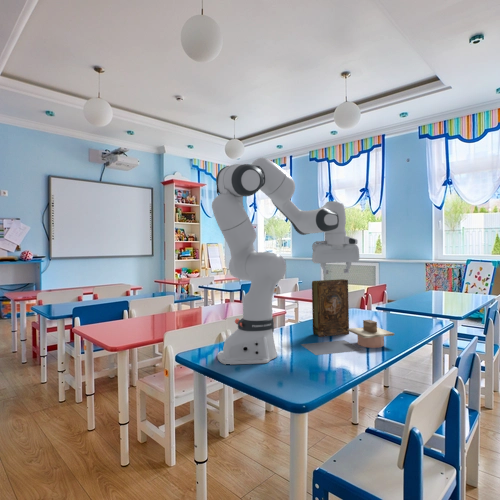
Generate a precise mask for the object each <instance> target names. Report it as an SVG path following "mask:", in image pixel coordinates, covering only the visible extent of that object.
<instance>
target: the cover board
mask: <svg viewBox="0 0 500 500" xmlns="http://www.w3.org/2000/svg"><path fill="white" fill-rule="evenodd" d="M362 321H363V322H362V326H363V327H349V329H348V331H349V333H352V334H353V335H356V336H358V335H359V336H361V337H363V338H372V337H383V336H384V337H390V336H391V337H392V336H395V332H391V331H390V330H386V329H383V328H380V327H378V323H377V321H374V320H373V319H372V320H371V319H363V320H362Z"/></svg>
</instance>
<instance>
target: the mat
mask: <svg viewBox="0 0 500 500" xmlns="http://www.w3.org/2000/svg"><path fill="white" fill-rule="evenodd" d="M300 346H301V347H303V348H305V349H306V350H308V351H310V352H311V353H312V354H313V355H315V356H320V355H329V354H330V355H332V354H338V353H339V354H341V353H350V352H351V353H352V352H360V351H364V349H363V348H361V347H360V346H357V345H355V344H353V343H351V342H349V341H347V340H333V341H323V342H312V343H303V344H301V343H300Z"/></svg>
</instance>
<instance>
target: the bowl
mask: <svg viewBox="0 0 500 500" xmlns="http://www.w3.org/2000/svg"><path fill="white" fill-rule="evenodd" d="M357 345H358V346H359V347H360V346H361V347H364V348H373V349H375V348H377V349H378V348H382V347H384V346H385V336H383V337H372V338H363V337H361V336H359V335H357Z"/></svg>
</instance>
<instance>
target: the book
mask: <svg viewBox="0 0 500 500" xmlns="http://www.w3.org/2000/svg"><path fill="white" fill-rule="evenodd" d="M311 306H312V310H311V311H312V334H313V335H317V336H318V338H322V337H323V338H324V337H332V336H343V335H350V331H348V329H350V315H349V314H350V312H349V311H350V309H349V280H348V279H344V278H343V279H324V280H321V279H320V280H312V282H311Z"/></svg>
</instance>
